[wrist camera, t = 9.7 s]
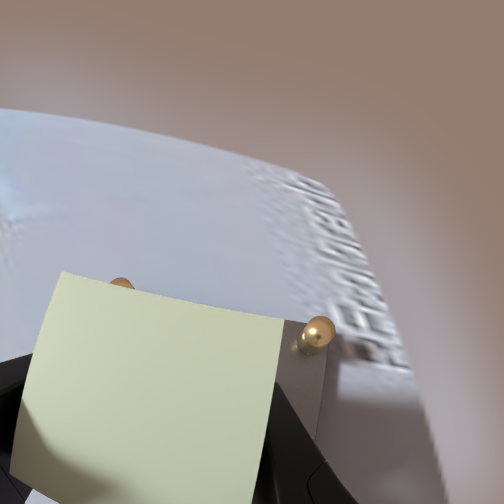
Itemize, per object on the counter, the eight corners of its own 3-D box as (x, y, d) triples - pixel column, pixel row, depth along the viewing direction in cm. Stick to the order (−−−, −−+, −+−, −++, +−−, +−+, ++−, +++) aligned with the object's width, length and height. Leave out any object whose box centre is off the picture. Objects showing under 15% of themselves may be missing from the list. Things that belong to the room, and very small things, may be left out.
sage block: (238, 474, 12) (238, 560, 4) (137, 449, 13) (9, 473, 4) (256, 379, 15) (284, 319, 6) (158, 357, 15) (61, 271, 6)
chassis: (325, 331, 18) (343, 313, 15) (291, 529, 12) (303, 550, 9) (128, 293, 19) (109, 268, 16) (82, 477, 13) (53, 485, 10)
